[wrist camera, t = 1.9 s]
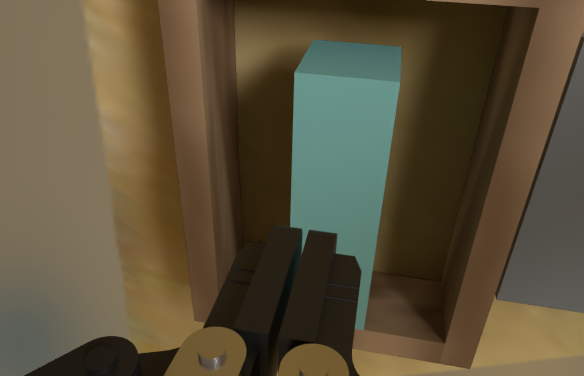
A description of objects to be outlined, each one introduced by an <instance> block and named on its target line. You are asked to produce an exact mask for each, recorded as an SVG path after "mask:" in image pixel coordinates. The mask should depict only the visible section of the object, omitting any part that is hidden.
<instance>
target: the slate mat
mask: <svg viewBox="0 0 584 376" xmlns="http://www.w3.org/2000/svg"><path fill="white" fill-rule="evenodd" d="M495 295H496V300H503V301H510V302H516V303H523V304H529V305H536V306H542V307H549V308H555V309H562V310H568V311H575V312H581V313H584V33H582V35H581V38H580V41H579V44H578V47H577V50H576V53H575V56H574V59H573V62H572V65H571V68H570V71H569V74H568V77H567V80H566V83H565V86H564V89H563V92H562V95H561V98H560V101H559V104H558V107H557V110H556V113H555V116H554V119H553V122H552V125H551V128H550V131H549V134H548V137H547V140H546V143H545V146H544V149H543V152H542V155H541V158H540V161H539V164H538V167H537V170H536V173H535V176H534V179H533V182H532V185H531V188H530V191H529V194H528V197H527V200H526V203H525V206H524V209H523V212H522V215H521V218H520V221H519V224H518V227H517V230H516V233H515V236H514V239H513V242H512V245H511V248H510V251H509V254H508V257H507V260H506V263H505V266H504V269H503V272H502V275H501V278H500V281H499V284H498V287H497V290H496V293H495Z"/></svg>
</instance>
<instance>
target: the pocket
mask: <svg viewBox="0 0 584 376" xmlns="http://www.w3.org/2000/svg"><path fill="white" fill-rule="evenodd" d="M428 1H443V2H458V3H473V4H488V5H503V6H509V9H508V13H507V17H506V21H505V25H504V29H503V33H502V37H501V41H500V45H499V49H498V53H497V57H496V61H495V65H494V69H493V73H492V77H491V81H490V85H489V89H488V93H487V97H486V101H485V105H484V109H483V113H482V117H481V121H480V125H479V129H478V133H477V137H476V142H475V146H474V150H473V154H472V158H471V162H470V166H469V170H468V174H467V178H466V182H465V186H464V190H463V194H462V198H461V202H460V206H459V210H458V214H457V218H456V222H455V226H454V230H453V234H452V238H451V242H450V246H449V250H448V254H447V258H446V262H445V266H444V270H443V274H442V278H441V282H437V281H431V280H424V279H417V278H411V277H404V276H398V275H391V274H384V273H378V272H372V278H371V285H370V291H369V298H368V305H367V312H366V318H365V325H364V330H359V329H355V331H354V339H353V347H352V348H353V349H359V350H365V351H370V352H376V353H382V354H387V355H393V356H399V357H405V358H410V359H416V360H422V361H427V362H433V363H439V364H444V365H450V366H456V367H462V368H467V369H470V368H471V365H472V362H473V359H474V356H475V353H476V350H477V347H478V344H479V341H480V338H481V335H482V332H483V329H484V326H485V323H486V320H487V317H488V314H489V311H490V308H491V305H492V302H493V299H494V296H495V293H496V290H497V287H498V284H499V281H500V278H501V275H502V272H503V269H504V266H505V263H506V260H507V257H508V254H509V251H510V248H511V245H512V242H513V239H514V236H515V233H516V230H517V227H518V224H519V221H520V218H521V215H522V212H523V209H524V206H525V203H526V200H527V197H528V194H529V191H530V188H531V185H532V182H533V179H534V176H535V173H536V170H537V167H538V164H539V161H540V158H541V155H542V152H543V149H544V146H545V143H546V140H547V137H548V134H549V131H550V128H551V125H552V122H553V119H554V116H555V113H556V110H557V107H558V104H559V101H560V98H561V95H562V92H563V89H564V86H565V83H566V80H567V77H568V74H569V71H570V68H571V65H572V62H573V59H574V56H575V53H576V50H577V47H578V44H579V41H580V38H581V35H582V32H583V29H584V0H428ZM158 9H159V17H160V26H161V35H162V43H163V52H164V60H165V69H166V78H167V86H168V95H169V104H170V112H171V121H172V130H173V138H174V147H175V156H176V164H177V173H178V182H179V190H180V199H181V207H182V216H183V225H184V233H185V242H186V251H187V259H188V268H189V277H190V285H191V294H192V303H193V311H194V320H195V321H199V322H205V323H206V321H207V319H208V316H209V314H210V312H211V310H212V308H213V305H214V303H215V301H216V299H217V297H218V294H219V292H220V290H221V288H222V286H223V284H224V282H225V279H226V277H227V275H228V273H229V270H231V266H232V264H233V262H234V259H235V257H236V255H237V253H238V252H239V251H240V250H241V249H243V243H242V216H241V189H240V163H239V136H238V109H237V82H236V56H235V29H234V2H233V0H158Z"/></svg>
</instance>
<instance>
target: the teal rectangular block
mask: <svg viewBox="0 0 584 376" xmlns="http://www.w3.org/2000/svg"><path fill="white" fill-rule="evenodd" d="M401 57H402V47H399V46H387V45H374V44H362V43H350V42H337V41H325V40H313V42H312V43H311V45H310V47H309V48H308V50H307V52H306V53H305V55H304V57H303V59H302V60H301V62H300V64H299V65H298V67H297V69H296V71H295V72H294V106H293V142H292V178H291V214H290V227H295V228H302V233H303V235H302V252H303V248H304V245H305V241H306V238H307V234H308V231H309V230H317V231H324V232H331V233H337V246H336V254H343V255H350V256H355V257H356V260H357V262H358V264H359V266H360V269H361V271H362V273H361V281H360V289H359V298H358V306H357V314H356V322H355V329H359V330H364V325H365V318H366V312H367V305H368V298H369V291H370V285H371V278H372V271H373V264H374V257H375V251H376V244H377V237H378V230H379V223H380V217H381V210H382V203H383V196H384V190H385V183H386V176H387V169H388V162H389V156H390V149H391V142H392V135H393V128H394V122H395V115H396V108H397V101H398V94H399V88H400V78H401Z"/></svg>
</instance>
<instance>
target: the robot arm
mask: <svg viewBox="0 0 584 376" xmlns="http://www.w3.org/2000/svg"><path fill="white" fill-rule="evenodd" d="M302 235H303V233H302V228H295V227H288V226H281V225H273V227H272V230H271V232H270V235H269V237H268V240H267V242H266V243H261V242H254V241H251V242H250V243H248V244H247V245H246V246H245V247H244V248H243V249H241V250H240V251H239V252H238V253H237V255H236V257H235V259H234V262H233V264H232V266H231V270H229V273H228V275H227V277H226V279H225V282H224V284H223V286H222V288H221V290H220V292H219V294H218V297H217V299H216V301H215V303H214V305H213V308H212V310H211V312H210V314H209V316H208V319H207V321H206V323H205V325H204V327H203V329H201V330H198V331H196V332H194V333H193V334H191V335H190V336H189V337H187V339H186V340H185V341H184V342H183V343H182V345H181V346H180V347H179V348H176V349H172V350H167V351H159V352H150V353H140V354H138V352H137V349H136V347H135V346H134V345H133V344H132V342H130V341H129V340H127V339H125V338H122V337H116V336H107V337H101V338H97V339H95V340H92V341H90V342H88V343H86V344H84V345H82V346H80V347H78V348H76V349H74V350H72V351H70V352H69V353H67V354H65V355H63V356H61V357H59V358H57V359H55V360H54V361H51V362H49V363H48V364H46V365H44V366H42V367H40V368H38V369H36V370H34V371H32V372H30V373H28V374H26V375H25V376H276V375H277V371H278V376H359V374H358V373H357V371H356V369H355V368H354V365H353V361H352V347H353V339H354V331H355V322H356V314H357V306H358V298H359V289H360V281H361V273H362V271H361V269H360V266H359V264H358V262H357V260H356V257H355V256H350V255H343V254H336V246H337V233H331V232H324V231H317V230H309V231H308V234H307V238H306V241H305V245H304V248H303V252H302Z"/></svg>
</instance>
